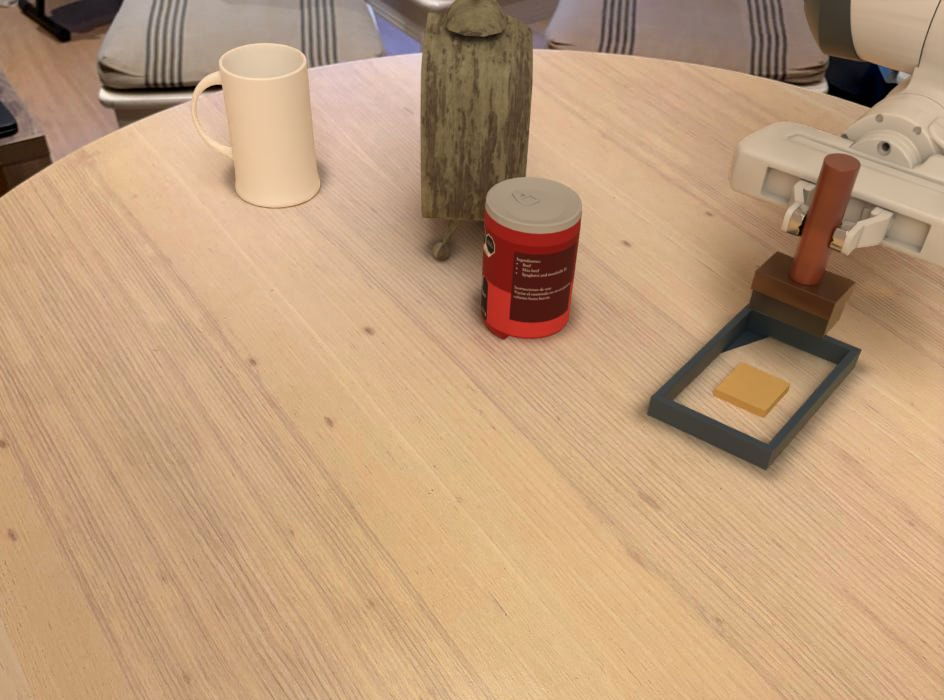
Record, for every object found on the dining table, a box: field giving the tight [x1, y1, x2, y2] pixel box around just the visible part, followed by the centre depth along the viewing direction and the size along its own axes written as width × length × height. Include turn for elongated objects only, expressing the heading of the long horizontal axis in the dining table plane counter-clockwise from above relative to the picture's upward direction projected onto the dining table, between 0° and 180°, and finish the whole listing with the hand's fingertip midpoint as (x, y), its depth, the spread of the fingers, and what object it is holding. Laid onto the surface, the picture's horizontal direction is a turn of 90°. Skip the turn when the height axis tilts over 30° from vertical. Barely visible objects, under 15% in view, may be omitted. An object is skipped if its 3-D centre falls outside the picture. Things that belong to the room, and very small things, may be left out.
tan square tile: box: [713, 361, 791, 419], centre depth 82 cm, size 4×4×1 cm
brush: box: [748, 153, 861, 338], centre depth 77 cm, size 4×7×12 cm, turn 52°
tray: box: [646, 303, 862, 471], centre depth 82 cm, size 16×10×3 cm, turn 143°
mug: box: [190, 42, 321, 209], centre depth 99 cm, size 12×8×12 cm
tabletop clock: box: [420, 0, 534, 261], centre depth 89 cm, size 14×9×25 cm, turn 178°
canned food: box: [480, 176, 583, 340], centre depth 86 cm, size 8×8×11 cm
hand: (815, 234), depth 76 cm, fingers closed on brush, 2 cm apart
